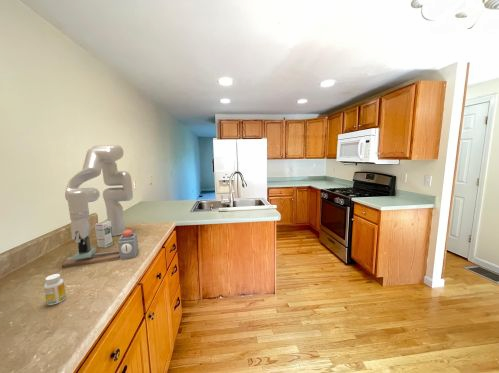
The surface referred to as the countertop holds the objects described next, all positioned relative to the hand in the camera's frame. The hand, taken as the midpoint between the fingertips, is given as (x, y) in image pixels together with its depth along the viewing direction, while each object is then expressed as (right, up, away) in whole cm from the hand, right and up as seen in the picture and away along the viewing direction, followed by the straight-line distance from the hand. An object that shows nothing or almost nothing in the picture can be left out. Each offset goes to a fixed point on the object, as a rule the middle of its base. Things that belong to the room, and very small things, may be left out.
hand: (84, 249), depth 109 cm
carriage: (0, -3, 0) cm, 3 cm away
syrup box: (-2, -3, +19) cm, 19 cm away
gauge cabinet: (+19, -4, +7) cm, 21 cm away
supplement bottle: (+12, -10, -30) cm, 34 cm away
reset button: (+19, +6, +5) cm, 20 cm away
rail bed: (+4, -5, +2) cm, 7 cm away
